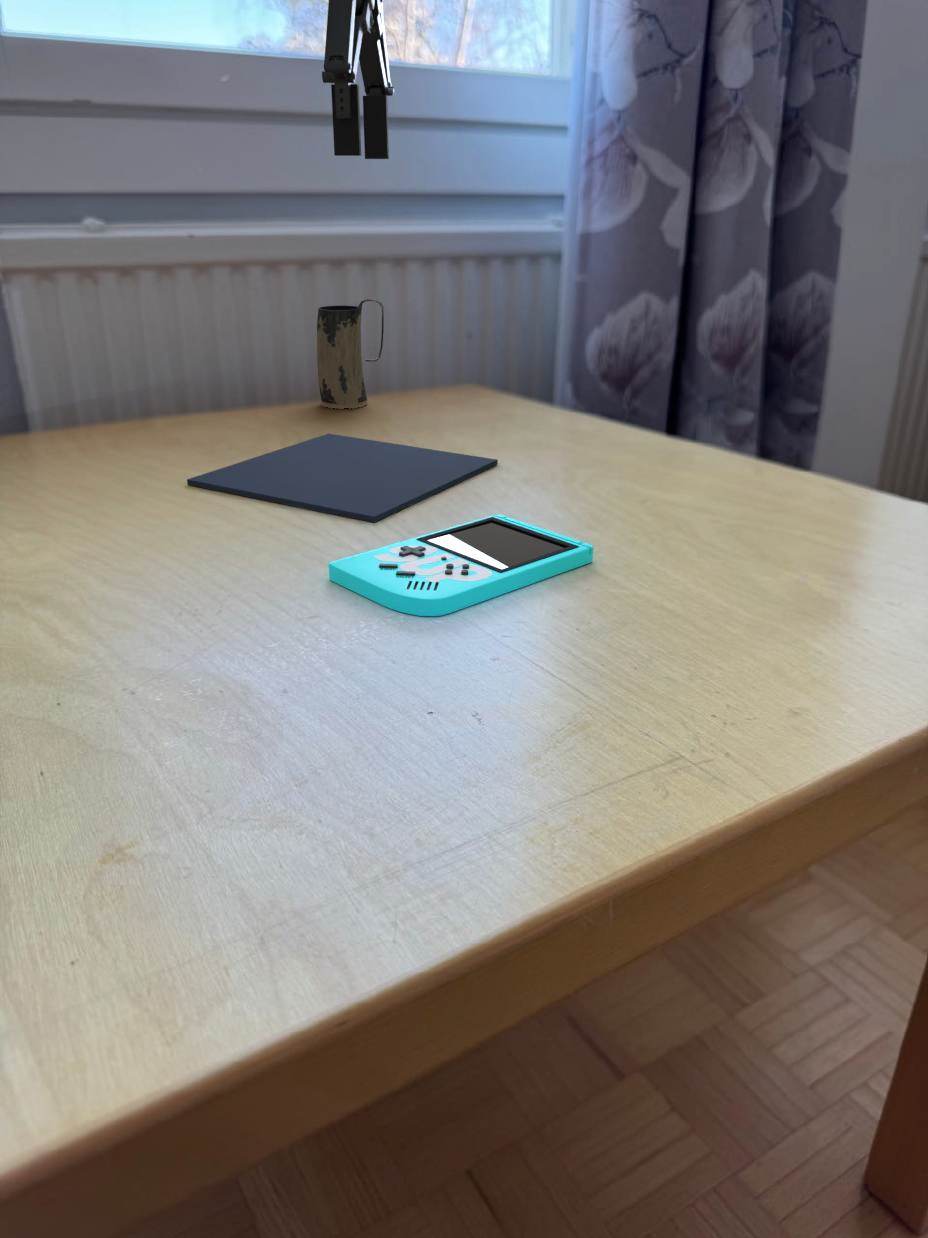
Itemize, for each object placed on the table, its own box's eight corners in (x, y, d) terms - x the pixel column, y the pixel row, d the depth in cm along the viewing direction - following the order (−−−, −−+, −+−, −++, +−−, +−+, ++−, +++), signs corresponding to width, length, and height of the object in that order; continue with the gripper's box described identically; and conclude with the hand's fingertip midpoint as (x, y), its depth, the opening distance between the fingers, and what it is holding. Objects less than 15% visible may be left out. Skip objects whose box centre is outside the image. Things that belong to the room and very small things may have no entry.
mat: (187, 484, 84) (186, 479, 84) (328, 437, 100) (328, 433, 100) (374, 522, 75) (374, 516, 75) (497, 464, 91) (497, 459, 90)
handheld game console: (324, 577, 64) (323, 558, 64) (496, 526, 74) (497, 509, 74) (421, 624, 58) (420, 603, 57) (596, 561, 67) (597, 542, 67)
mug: (316, 408, 113) (310, 301, 108) (322, 399, 118) (316, 296, 113) (384, 408, 113) (381, 301, 108) (387, 399, 118) (384, 296, 113)
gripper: (362, -110, 86) (370, 153, 95) (414, -49, 109) (417, 159, 117) (281, -107, 87) (297, 153, 96) (349, -47, 110) (357, 159, 118)
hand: (363, 157), depth 107 cm, fingers open, 13 cm apart
